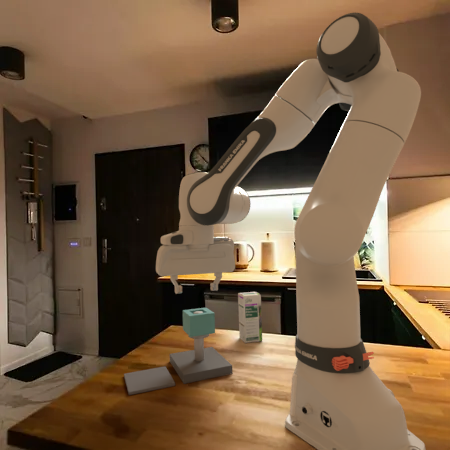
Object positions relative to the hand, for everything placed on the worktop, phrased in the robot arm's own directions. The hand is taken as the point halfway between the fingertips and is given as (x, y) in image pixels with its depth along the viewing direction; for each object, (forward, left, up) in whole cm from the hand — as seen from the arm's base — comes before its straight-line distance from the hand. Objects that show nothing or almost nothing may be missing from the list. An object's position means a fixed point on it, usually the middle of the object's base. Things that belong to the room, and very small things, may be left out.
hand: (196, 291), depth 84 cm
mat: (-2, +13, -19) cm, 23 cm away
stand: (0, 0, -19) cm, 19 cm away
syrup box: (+13, -21, -19) cm, 31 cm away
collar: (0, 0, -10) cm, 10 cm away
